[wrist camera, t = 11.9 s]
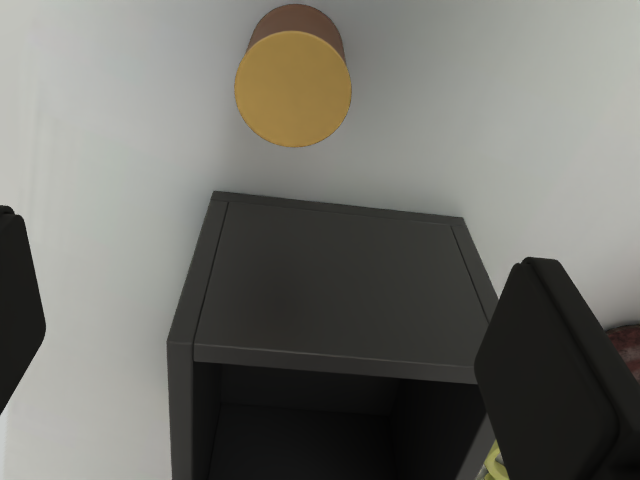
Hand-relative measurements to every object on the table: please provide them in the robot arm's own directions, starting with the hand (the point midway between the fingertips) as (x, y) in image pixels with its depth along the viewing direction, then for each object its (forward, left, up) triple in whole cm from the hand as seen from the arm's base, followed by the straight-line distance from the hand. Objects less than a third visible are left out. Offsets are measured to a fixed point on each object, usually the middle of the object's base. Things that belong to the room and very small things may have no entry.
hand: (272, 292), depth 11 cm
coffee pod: (0, 0, -15) cm, 15 cm away
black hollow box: (+15, +3, -15) cm, 21 cm away
